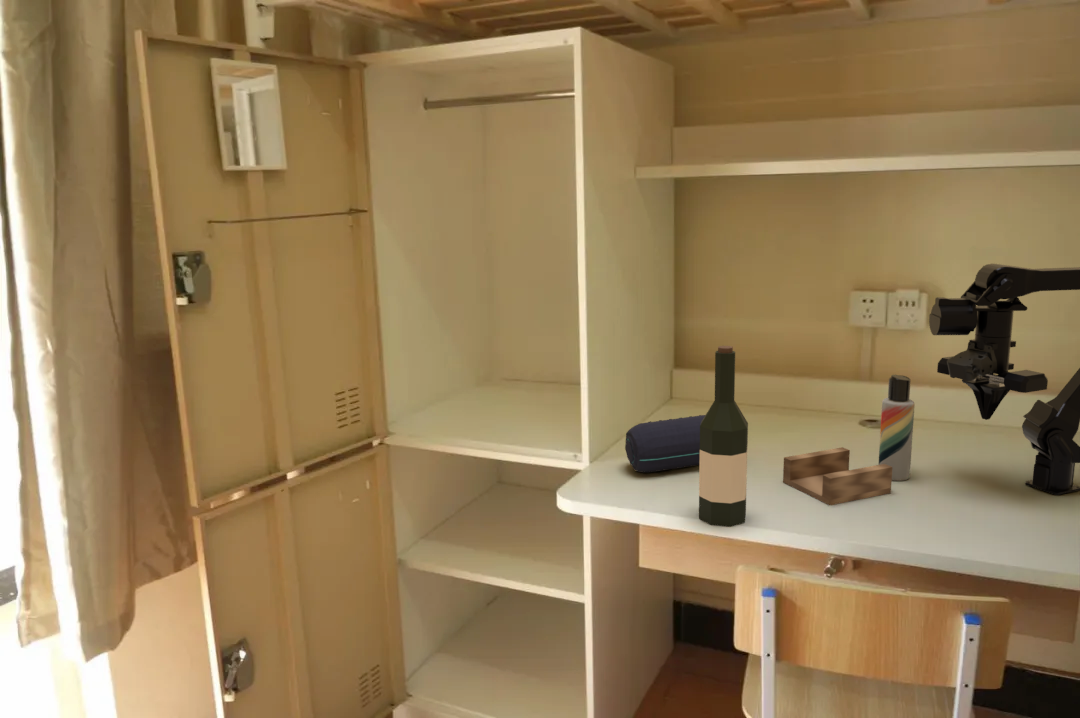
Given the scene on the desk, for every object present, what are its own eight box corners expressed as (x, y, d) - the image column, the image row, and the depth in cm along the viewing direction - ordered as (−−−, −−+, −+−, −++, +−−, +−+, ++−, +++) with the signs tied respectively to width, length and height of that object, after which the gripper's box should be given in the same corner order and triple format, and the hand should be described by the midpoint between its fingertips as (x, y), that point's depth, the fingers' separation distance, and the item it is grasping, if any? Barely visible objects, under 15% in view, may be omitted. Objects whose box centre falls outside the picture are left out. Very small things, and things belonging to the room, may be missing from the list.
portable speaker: (723, 451, 179) (723, 406, 177) (749, 465, 169) (750, 418, 167) (616, 466, 171) (616, 419, 169) (637, 482, 161) (637, 432, 159)
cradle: (841, 471, 164) (842, 447, 163) (890, 492, 152) (892, 467, 151) (782, 482, 159) (783, 457, 158) (829, 505, 147) (830, 478, 146)
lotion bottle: (880, 469, 164) (886, 371, 160) (911, 474, 161) (918, 374, 157) (875, 478, 159) (881, 377, 155) (907, 483, 156) (914, 380, 152)
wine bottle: (712, 504, 149) (714, 340, 143) (755, 515, 144) (760, 345, 137) (689, 519, 142) (690, 348, 136) (733, 530, 137) (737, 353, 131)
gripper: (917, 331, 154) (912, 412, 157) (1006, 348, 137) (998, 438, 140) (962, 326, 158) (956, 405, 161) (1054, 341, 141) (1045, 430, 144)
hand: (985, 419), depth 151 cm, fingers closed
